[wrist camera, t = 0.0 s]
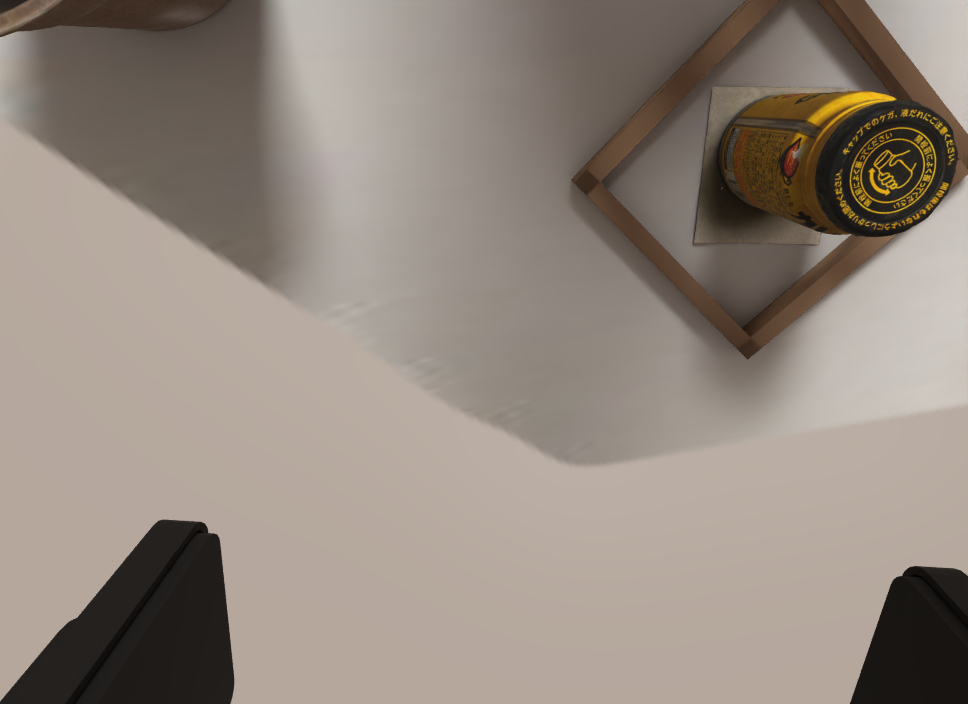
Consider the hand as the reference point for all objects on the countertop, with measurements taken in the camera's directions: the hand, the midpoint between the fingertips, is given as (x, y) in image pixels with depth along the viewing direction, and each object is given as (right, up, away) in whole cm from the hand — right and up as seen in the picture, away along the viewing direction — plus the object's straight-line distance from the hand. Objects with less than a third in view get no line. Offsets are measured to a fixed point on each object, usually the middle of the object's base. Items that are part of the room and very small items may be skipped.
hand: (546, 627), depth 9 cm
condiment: (+15, +14, +28) cm, 35 cm away
